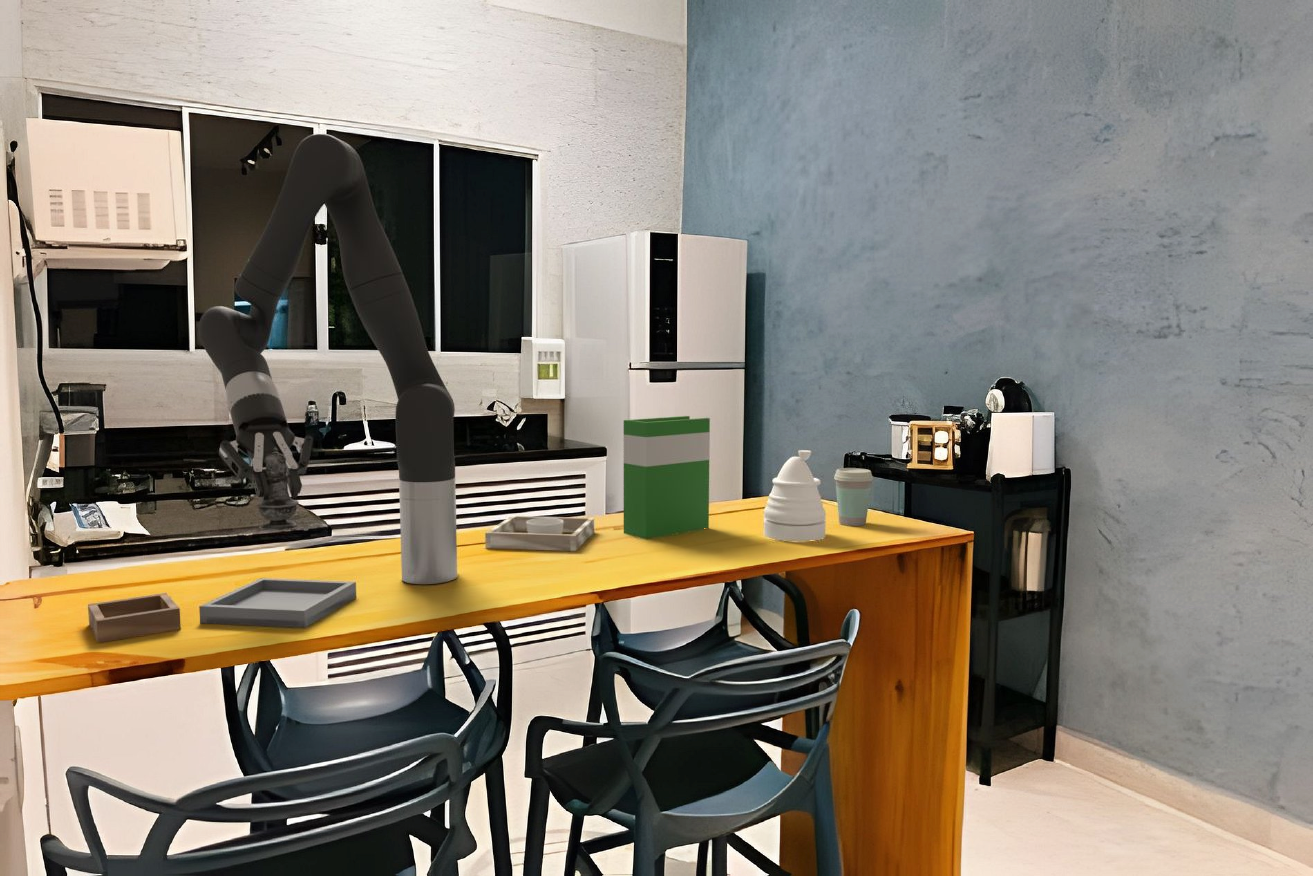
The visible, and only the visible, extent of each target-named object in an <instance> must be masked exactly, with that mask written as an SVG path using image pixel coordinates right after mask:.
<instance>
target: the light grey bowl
mask: <svg viewBox="0 0 1313 876" xmlns="http://www.w3.org/2000/svg"><path fill="white" fill-rule="evenodd" d="M526 523H527V531H526V532H527V533H538V534H563V532H562V531H563V523H564V521H563V520H561V519H557V518H536V519H531V520H528V521H527V522H526Z"/></svg>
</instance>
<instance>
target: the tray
mask: <svg viewBox="0 0 1313 876" xmlns="http://www.w3.org/2000/svg"><path fill="white" fill-rule="evenodd" d="M356 598H357V582H356V581H344V580H343V581H341V580H320V579H319V580H317V579H313V580H312V579H294V578H293V579H291V578H272V577H271V578H270V577H261V578H258V579H257V580H253V581H251V582H250V583H247V584H246V585H242V586H241V587H239V588H236V589H234V590H232V591H229V592H228V593H225V594H223V595H221V596H219V597H217V598H214V599H212V600H210V601H207V602H206V603H202V604H200V605H199V606H198V607H199V624H207V625H208V624H209V625H211V624H213V625H232V626H233V625H234V626H251V627H252V626H253V627H275V628H276V627H277V628H293V629H295V628H298V629H306V628H308V627H310V626H311V625H312V624H315V623H316V622H318V621H320V620H321V619H323V618H324V617H326V616H328V615H329V614H331V613H333V612H335V611H336V610H338V609H339V608H341V607H343V606H345V605H346V604H347V603H349V602H351V601H353V600H355V599H356Z"/></svg>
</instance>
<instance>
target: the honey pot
mask: <svg viewBox="0 0 1313 876" xmlns="http://www.w3.org/2000/svg"><path fill="white" fill-rule="evenodd" d="M811 454H812V450H804V449H800V450H798V456H791V457H790V458H789V459H787V461H786V462H784V464H783V465H782V467H781V469H780V470H779V473H778V474H777V476H776V477H774V478H773V479H772V484H773V486H772V489H771V492H770V493H769V495H768V499H767V502H766V506H765V507H764V510H763V532H762V533H763V535H765V538H766V537H769V538H772V539H775V540H774V541H777V540H785V541H810V540H819V541H821V540H820V539H822V538H824V537H825V538H826V515H827V514H826V509H825V508H824V506H823V505H824V504H823V502H822V496H821V494H820V492H819V489H818V487H819V486H820V485H821V479H819V478H817V477H814V475H813V474H812V471H811V469H810V467H809V466H808V464H807V463H806V462H805V461H807V460H808V459H809V458H810V457H811ZM825 538H824V539H825ZM772 539H771V540H772ZM822 540H823V539H822Z"/></svg>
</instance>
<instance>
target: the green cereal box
mask: <svg viewBox="0 0 1313 876" xmlns="http://www.w3.org/2000/svg"><path fill="white" fill-rule="evenodd" d="M710 420H711V418H710V417H700V418H690V415H683V416H669V417H668V416H667V417H655V418H654V417H652V418H639V419H638V418H637V419H624V420H623V534H625V535H629V536H632V537H636V538H639V537H640V538H639V539H644V540H648V539H649V538H650V539H654V538H653V537H655V538H661V537H666V536H665V535H667V536H672V534H673V535H677V534H676V533H679V534H683V533H689V532H688V531H690V532H696V531H701V529H702V530H705V529H704V528H708V529H710V523H709V522H710V439H711V438H710V437H711V436H710V433H711V429H710V425H711V424H710V423H711V421H710ZM660 536H661V537H660Z"/></svg>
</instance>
